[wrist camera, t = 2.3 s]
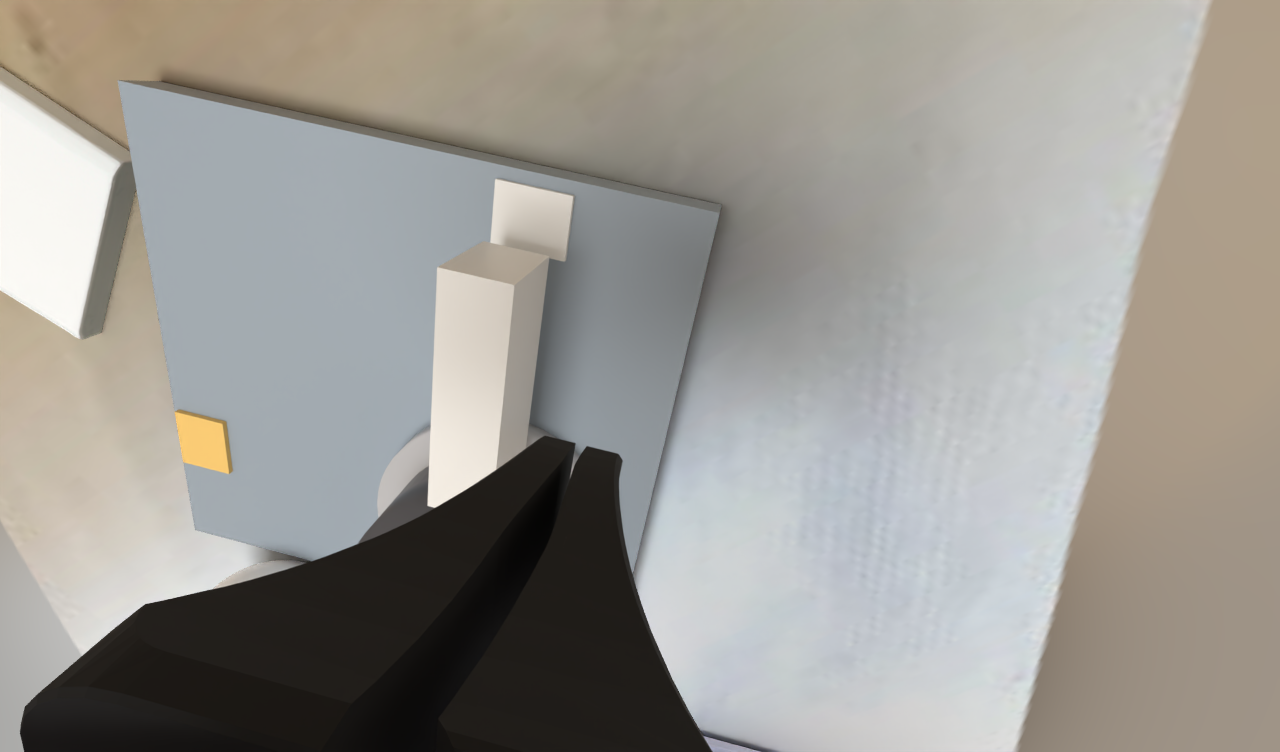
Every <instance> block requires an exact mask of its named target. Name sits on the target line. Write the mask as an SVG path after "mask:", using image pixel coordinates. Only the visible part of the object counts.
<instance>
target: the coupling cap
mask: <svg viewBox="0 0 1280 752" xmlns="http://www.w3.org/2000/svg"><path fill="white" fill-rule="evenodd" d="M549 257H550V256H546V255H542V254H538V253H533V252H529V251H524V250H520V249H516V248H511V247H507V246H503V245H498V244H494V243H489V242H485V241H483V242H481V243H479V244H478V245H476V246H474V247H472V248H471V249H469V250H467V251H465V252H463V253H462V254H460V255H458V256H456V257H454V258H453V259H451V260H449V261H447V262H446V263H444V264H442V265H440V266H438V267H437V283H436V308H435V332H434V357H433V382H432V406H431V431H430V455H429V466H428V467H426V468H425V469H423V470H422V471H421V472H419V473H418V474H417V475H416V476H415V477H414V478H413V479H412V480H411V481H410V482H409V483H408V484H407V485H406V487H405V488H404V489H403V490H402V491H401V492H400V494H399V495H398V496H397V497H396V498H395V499H394V500H393V502H392V503H391V504H390V505H389V506H388V507H387V509H386V510H385V511H384V512H383V513H382V514H381V515H380V517H379V518H378V519H377V520H376V521H375V522H374V523H373V525H372V526H371V527H370V528H369V529H368V530H367V532H366V533H365V534H364V535H363V537H362V538H361V540H360V541H359V543H362V542H364V541H367V540H369V539H372V538H374V537H377V536H379V535H381V534H384V533H386V532H388V531H390V530H392V529H395V528H397V527H399V526H401V525H403V524H405V523H407V522H409V521H411V520H413V519H415V518H417V517H419V516H421V515H423V514H425V513H427V512H428V511H430V510H432V509H434V508H436V507H437V506H439V505H441V504H442V503H444V502H446V501H448V500H449V499H451V498H453V497H454V496H456V495H458V494H459V493H461V492H463V491H465V490H466V489H468V488H469V487H471V486H472V485H474V484H475V483H477V482H478V481H480V480H481V479H483V478H484V477H486V476H487V475H489V474H490V473H492V472H493V471H495V470H496V469H498V468H499V467H501V466H502V465H504V464H505V463H506V462H508V461H509V460H511V459H512V458H513V457H515V456H516V455H518V454H519V453H520V452H522V451H523V450H524V449H526V443H527V435H528V427H529V419H530V411H531V403H532V395H533V386H534V378H535V370H536V362H537V354H538V346H539V338H540V330H541V322H542V313H543V305H544V297H545V289H546V281H547V273H548V265H549ZM359 543H358V544H359Z"/></svg>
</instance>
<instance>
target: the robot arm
mask: <svg viewBox="0 0 1280 752" xmlns="http://www.w3.org/2000/svg"><path fill="white" fill-rule="evenodd" d="M575 445H576V443H573V442H569V441H565V440H561V439H557V438H553V437H549V436H543V437H541V438H539V439H538V440H536V441H535V442H534V443H532V444H531V445H530V446H528V447H527V448H526V449H524V450H523V451H522V452H520V453H519V454H518V455H516V456H515V457H513V458H512V459H511V460H509V461H508V462H506V463H505V464H504V465H502V466H501V467H499V468H498V469H496V470H495V471H493V472H492V473H490V474H489V475H487V476H486V477H484V478H483V479H481V480H480V481H478V482H477V483H475V484H474V485H472V486H471V487H469V488H468V489H466V490H465V491H463V492H461V493H459V494H458V495H456V496H454V497H453V498H451V499H449V500H448V501H446V502H444V503H442V504H441V505H439V506H437V507H436V508H434V509H432V510H430V511H428V512H427V513H425V514H423V515H421V516H419V517H417V518H415V519H413V520H411V521H409V522H407V523H405V524H403V525H401V526H399V527H397V528H395V529H392V530H390V531H388V532H386V533H384V534H381V535H379V536H377V537H374V538H372V539H369V540H367V541H364V542H362V543H359V544H356V545H354V546H351V547H349V548H346V549H343V550H341V551H338V552H336V553H333V554H330V555H328V556H325V557H323V558H320V559H317V560H314V561H311V562H308V563H305V564H302V565H298V566H295V567H292V568H289V569H286V570H283V571H279V572H276V573H272V574H269V575H266V576H262V577H259V578H255V579H252V580H248V581H244V582H240V583H237V584H233V585H229V586H225V587H220V588H216V589H212V590H207V591H203V592H199V593H194V594H190V595H186V596H181V597H177V598H173V599H168V600H164V601H159V602H154V603H149V604H145V605H144V606H142V607H141V608H140V609H138V610H137V611H136V612H135V613H133V614H132V615H131V616H130V617H128V618H127V619H126V620H125V621H123V622H122V623H121V624H120V625H118V626H117V627H116V628H115V629H113V630H112V631H111V632H110V633H108V634H107V635H106V636H105V637H104V638H103V639H101V640H100V641H99V642H98V643H97V644H96V645H94V646H93V647H92V648H91V649H90V650H89V651H87V652H86V653H85V654H84V655H83V656H82V657H80V658H79V659H78V660H77V661H76V662H75V663H74V664H72V665H71V666H70V667H69V668H68V669H67V670H65V671H64V672H63V673H62V674H61V675H59V676H58V677H57V678H56V679H55V680H54V681H52V682H51V683H50V684H49V685H48V686H47V687H45V688H44V689H43V690H42V691H41V692H40V693H38V694H37V695H36V696H35V697H34V698H33V699H32V700H31V701H30V703H28V705H26V706H25V709H24V713H23V717H22V722H21V729H20V735H21V739H22V743H23V748H24V752H760V751H756V750H753V749H749V748H745V747H742V746H738V745H734V744H731V743H727V742H723V741H720V740H716V739H713V738H709V737H705V736H703V735H702V733H701V731H700V730H699V728H698V726H697V724H696V723H695V721H694V719H693V717H692V716H691V714H690V712H689V710H688V708H687V707H686V705H685V703H684V701H683V699H682V697H681V695H680V693H679V691H678V689H677V687H676V685H675V683H674V681H673V680H672V677H671V675H670V673H669V671H668V668H667V666H666V664H665V662H664V659H663V657H662V655H661V653H660V650H659V648H658V646H657V643H656V641H655V639H654V637H653V634H652V632H651V629H650V627H649V624H648V621H647V618H646V616H645V613H644V610H643V607H642V604H641V601H640V598H639V595H638V592H637V589H636V585H635V582H634V578H633V574H632V570H631V567H630V562H629V558H628V553H627V549H626V544H625V538H624V533H623V525H622V518H621V510H620V498H619V477H620V472H621V467H622V463H623V460H622V458H621V457H620V455H619V454H618V453H614V452H610V451H605V450H601V449H597V448H593V447H589V446H586V448H585V449H584V451H583V452H582V453H581V455H580V456H579V458H578V460H577V461H576V463H575V465H574V468H573V471H572V474H571V469H572V463H573V457H574V451H575ZM570 475H571V477H570Z"/></svg>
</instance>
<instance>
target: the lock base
mask: <svg viewBox="0 0 1280 752" xmlns="http://www.w3.org/2000/svg"><path fill="white" fill-rule="evenodd" d="M118 84H119V90H120V96H121V102H122V108H123V114H124V119H125V125H126V131H127V137H128V143H129V148H130V154H131V160H132V166H133V172H134V177H135V183H136V189H137V195H138V201H139V206H140V212H141V218H142V224H143V230H144V236H145V241H146V247H147V253H148V259H149V265H150V270H151V276H152V282H153V288H154V294H155V299H156V305H157V311H158V317H159V323H160V328H161V334H162V340H163V346H164V352H165V357H166V363H167V369H168V375H169V381H170V387H171V392H172V398H173V404H174V410H175V416H176V422H177V428H178V434H179V440H180V445H181V451H182V457H183V462H184V468H185V474H186V479H187V485H188V491H189V497H190V503H191V508H192V514H193V520H194V526H195V530H197V531H201V532H205V533H208V534H212V535H216V536H220V537H223V538H227V539H231V540H235V541H238V542H242V543H246V544H250V545H253V546H257V547H261V548H265V549H268V550H272V551H276V552H280V553H283V554H287V555H291V556H295V557H298V558H302V559H306V560H310V561H314V560H317V559H320V558H323V557H325V556H328V555H330V554H333V553H336V552H338V551H341V550H343V549H346V548H349V547H351V546H354V545H356V544H358V543H359V541H360V540H361V538H362V537H363V535H364V534H365V533H366V532H367V530H368V529H369V528H370V527H371V526H372V525H373V523H374V522H375V521H376V520H377V519H378V518H379V517H380V515H381V514H382V513H383V512H384V511H385V510H386V509H387V507H388V506H389V505H390V504H391V503H392V502H393V500H394V499H395V498H396V497H397V496H398V495H399V494H400V492H401V491H402V490H403V489H404V488H405V487H406V485H407V484H408V483H409V482H410V481H411V480H412V479H413V478H414V477H415V476H416V475H417V474H418V473H419V472H421V471H422V470H423V469H425V468H426V467H428V466H429V455H430V431H431V406H432V382H433V357H434V332H435V308H436V283H437V267H438V266H440V265H442V264H444V263H446V262H447V261H449V260H451V259H453V258H454V257H456V256H458V255H460V254H462V253H463V252H465V251H467V250H469V249H471V248H472V247H474V246H476V245H478V244H479V243H481V242H483V241H485V242H489V243H494V244H498V245H503V246H507V247H511V248H516V249H520V250H524V251H529V252H533V253H538V254H542V255H546V256H550V257H549V265H548V273H547V281H546V289H545V297H544V305H543V313H542V322H541V330H540V338H539V346H538V354H537V362H536V370H535V378H534V386H533V395H532V403H531V411H530V419H529V427H528V435H527V443H526V448H527V447H528V446H530V445H531V444H532V443H534V442H535V441H536V440H538V439H539V438H541V437H543V436H549V437H553V438H557V439H561V440H565V441H569V442H573V443H576V445H575V451H574V457H573V463H572V469H571V474H572V471H573V468H574V465H575V463H576V461H577V460H578V458H579V456H580V455H581V453H582V452H583V451H584V449H585V448H586V446H589V447H593V448H597V449H601V450H605V451H610V452H614V453H618V454H619V455H620V457H621V458H622V460H623V463H622V467H621V472H620V477H619V498H620V510H621V518H622V525H623V533H624V538H625V544H626V549H627V553H628V558H629V562H630V567H631V570H632V574H633V572H634V568H635V563H636V559H637V555H638V551H639V547H640V543H641V538H642V534H643V530H644V526H645V522H646V518H647V514H648V509H649V505H650V501H651V497H652V493H653V489H654V484H655V480H656V476H657V472H658V468H659V464H660V460H661V455H662V451H663V447H664V443H665V439H666V435H667V430H668V426H669V422H670V418H671V414H672V410H673V406H674V401H675V397H676V393H677V389H678V385H679V381H680V376H681V372H682V368H683V364H684V360H685V356H686V352H687V347H688V343H689V339H690V335H691V331H692V327H693V322H694V318H695V314H696V310H697V306H698V302H699V298H700V293H701V289H702V285H703V281H704V277H705V273H706V268H707V264H708V260H709V256H710V252H711V248H712V244H713V239H714V235H715V231H716V227H717V223H718V219H719V214H720V210H721V205H720V204H716V203H711V202H707V201H702V200H698V199H693V198H688V197H684V196H679V195H675V194H670V193H666V192H661V191H657V190H652V189H647V188H643V187H638V186H634V185H629V184H625V183H620V182H616V181H611V180H606V179H602V178H597V177H593V176H588V175H584V174H579V173H575V172H570V171H566V170H561V169H556V168H552V167H547V166H543V165H538V164H534V163H529V162H525V161H520V160H515V159H511V158H506V157H502V156H497V155H493V154H488V153H484V152H479V151H474V150H470V149H465V148H461V147H456V146H452V145H447V144H443V143H438V142H434V141H429V140H424V139H420V138H415V137H411V136H406V135H402V134H397V133H393V132H388V131H383V130H379V129H374V128H370V127H365V126H361V125H356V124H352V123H347V122H342V121H338V120H333V119H329V118H324V117H320V116H315V115H311V114H306V113H302V112H297V111H292V110H288V109H283V108H279V107H274V106H270V105H265V104H261V103H256V102H251V101H247V100H242V99H238V98H233V97H229V96H224V95H220V94H215V93H210V92H206V91H201V90H197V89H192V88H188V87H183V86H179V85H174V84H170V83H165V82H160V81H123V80H118ZM570 477H571V475H570Z"/></svg>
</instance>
